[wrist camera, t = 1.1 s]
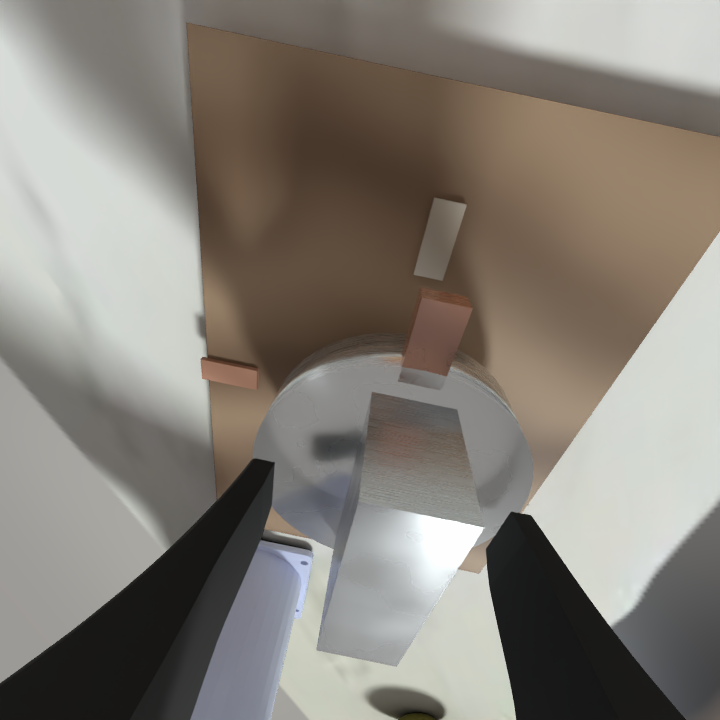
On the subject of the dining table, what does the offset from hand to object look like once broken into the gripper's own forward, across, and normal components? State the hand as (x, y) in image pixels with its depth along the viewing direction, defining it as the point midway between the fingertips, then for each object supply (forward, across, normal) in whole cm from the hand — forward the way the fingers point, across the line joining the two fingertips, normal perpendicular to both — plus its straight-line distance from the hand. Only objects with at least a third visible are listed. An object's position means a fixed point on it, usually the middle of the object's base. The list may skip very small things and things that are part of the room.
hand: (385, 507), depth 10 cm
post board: (+6, 0, 0) cm, 6 cm away
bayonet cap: (+3, 0, -1) cm, 3 cm away
